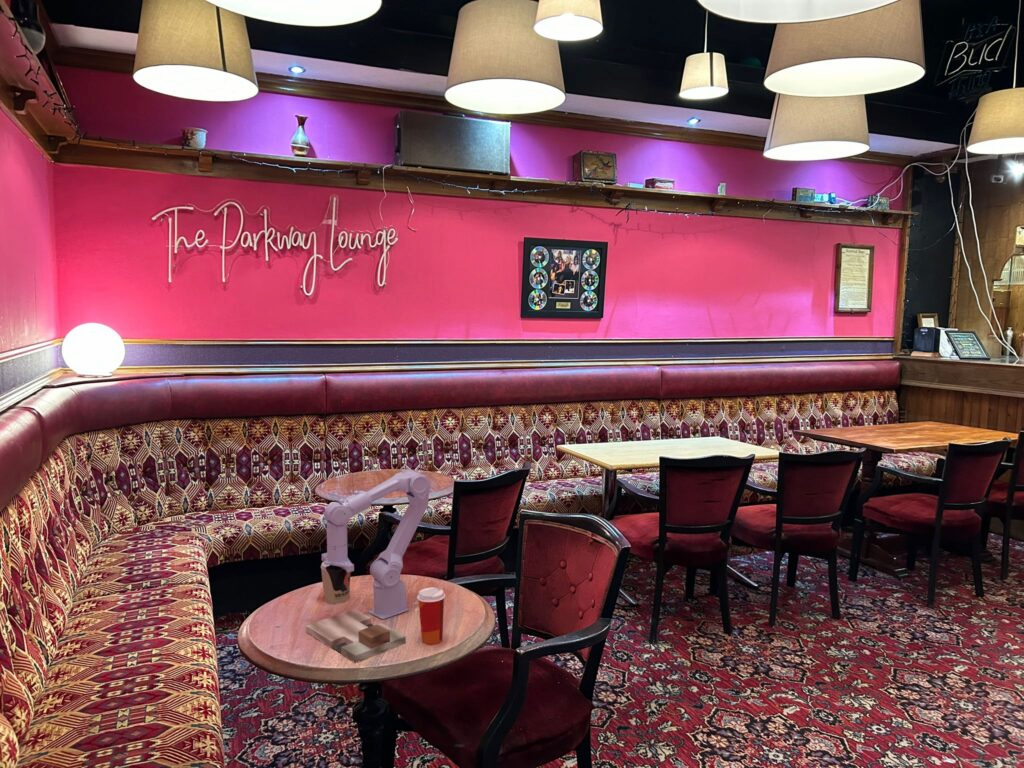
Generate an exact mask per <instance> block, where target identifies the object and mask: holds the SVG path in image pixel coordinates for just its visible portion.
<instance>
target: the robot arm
mask: <svg viewBox="0 0 1024 768" xmlns="http://www.w3.org/2000/svg"><path fill="white" fill-rule="evenodd" d="M431 487H432V486H431V483H430V481H429V478H428V477H427V476H426V475H425V474H422V473H419V472H417V471H414V470H413V469H412V468H407V469H405V470H402V471H401V472H397V473H395V474H394V475H393V476H392V477H391V478H390V477H389V478H388V479H386V480H384V481H383V482H382V483H380V484H378V485H376V486H374V487H373V488H371V489H369V490H368V491H366V490H355V491H353V494H351V495H350V496H347V497H345V498H340V499H339V500H338V501H337V502H335V501H333V502H330V503H329V504H328V505H327V506H326V507H325V510H324V512H323V516H324V519H325V520H326V544H327V545H326V552H324V553H321V561H322V562H324V564H325V565H330V566H327V567H326V570H327V572H328V574H329V576H330V579H331V582H332V586H333V589H334V590H335V591H339V590H342V587H343V583H344V579H345V577H346V574H347V572H350V573H352V572H354V571H355V564H354V563H352V561H351V560H350V559H349V557H348V527H347V526H348V523H349V521H350V519H351V518H352V517H354V516H357V515H358V514H360V513H362V512H364V511H366V510H368V509H370V508H371V506H372V503H373V502H375V501H377V500H380V499H382V498H384V497H385V496H388V495H390V494H393V493H395V492H400V493H405V494H406V496H407V499H408V503H409V504H408V506H407V508H406V510H405V512H404V513H403V516H402V518H401V520H400V522H399V524H398V525H397V528H396V530H395V531H394V533H393V536H392V537H391V539H390V540H389V543H388V546H387V547H386V549H385V550H383V551H382V552H380V553H379V554H378V557H377V558H376V559H375V560H374V561H373V562H372V563H371V564H370V568H369V572H370V576H371V577H372V578H373V582H372V583H373V586H372V587H373V591H372V592H373V608H371V609H369V610H367V611H368V614H371V615H373V616H375V617H377V618H379V619H381V620H385V619H388V618H391V617H394V616H397V615H400V614H402V613H405V612H408V611H409V609H408V608H407V606H408V605H407V588H406V585H405V583H404V582H403V580H401V573H402V570H403V567H404V564H403V557H404V556H405V555H404V554H405V553H406V551H407V548H408V547H409V545H410V543H411V540H412V539H413V536H414V535H415V532H416V530H417V528H418V526H419V525H420V522H421V521H422V518H423V516H424V515H425V513H426V511H427V509H428V506H429V503H430V502H429V501H430V498H429V497H430V490H431Z"/></svg>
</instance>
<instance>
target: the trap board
mask: <svg viewBox="0 0 1024 768" xmlns="http://www.w3.org/2000/svg"><path fill="white" fill-rule="evenodd" d="M377 624H378V625H380V626H381V627H383V628H385V629H387V630H389V631H390V642H388V643H385V644H382V645H380V646H377V647H375V648H372V649H371V648H369V647H367V646H365V645H364V644H362V643H360V642H359V631H360V630H363V629H366V628H368V627H371V626H374V625H375V624H373V623H372V618H371V617H370V616H369V615H366V614H364V613H362V612H360V611H359V610H357V609H354V608H353V609H350V610H348V611H345V612H342V613H339V614H336V615H333V616H331V617H327V618H325V619H321V620H319V621H316V622H312V623H309V624H306V625H305V631H306V632H307V633H306V632H305V633H306V634H308V633H309V634H308V635H310V634H311V635H312V636H311V635H310V636H311V637H313V638H314V637H315V638H314V639H316V638H317V639H316V640H318V641H319V640H320V642H321V643H323V644H324V645H326V646H327V645H328V646H327V647H329V648H331V649H333V650H334V651H335V650H336V652H338V653H339V654H340V655H342V656H343V657H345V658H347V659H348V658H349V660H350V659H351V660H350V661H352V662H353V661H354V663H355V664H357V663H359V662H358V661H360V662H361V660H362V661H364V659H365V660H367V659H369V657H370V658H372V657H374V655H375V656H377V655H379V653H380V654H382V653H385V652H387V651H389V649H390V650H393V649H395V648H396V647H400V646H402V645H406V642H407V641H406V640H407V637H406V635H404V634H402V633H400V632H398V631H397V630H395V629H393V628H391V627H389V626H387V625H385V624H383V623H381V622H380V623H377ZM399 645H400V646H399ZM384 651H385V652H384ZM371 656H372V657H371ZM366 658H367V659H366ZM356 662H357V663H356Z"/></svg>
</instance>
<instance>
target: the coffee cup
mask: <svg viewBox="0 0 1024 768" xmlns="http://www.w3.org/2000/svg"><path fill="white" fill-rule="evenodd" d="M327 566H330V565H325V564H324V561H322V562H321V565H320V569H321V571H320V572H321V580H322V589H323V596H324V597H323V599H324V602H325V603H326V604H331V605H335V603H339V604H342V603H341V602H343V603H345V602H344V601H346V602H348V599H349V600H350V592H351V591H350V590H351V572H347V574H346V577H345V579H344V583H343V587H342V590H339V591H335V590H334V589H333V586H332V582H331V579H330V576H329V574H328V572H327V570H326V567H327Z"/></svg>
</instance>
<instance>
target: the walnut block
mask: <svg viewBox="0 0 1024 768" xmlns="http://www.w3.org/2000/svg"><path fill="white" fill-rule="evenodd" d="M378 624H379V623H377V624H373V625H374V626H371V627H368V628H366V629H363V630H360V631H359V642H360V643H362V644H364V645H365V646H367V647H369V648H371V649H372V648H375V647H377V646H380V645H382V644H385V643H388V642H390V631H389V630H387V629H385V628H383V627H381V626H380V625H378Z"/></svg>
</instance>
